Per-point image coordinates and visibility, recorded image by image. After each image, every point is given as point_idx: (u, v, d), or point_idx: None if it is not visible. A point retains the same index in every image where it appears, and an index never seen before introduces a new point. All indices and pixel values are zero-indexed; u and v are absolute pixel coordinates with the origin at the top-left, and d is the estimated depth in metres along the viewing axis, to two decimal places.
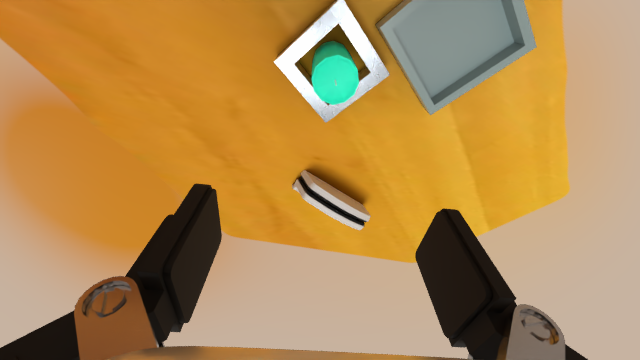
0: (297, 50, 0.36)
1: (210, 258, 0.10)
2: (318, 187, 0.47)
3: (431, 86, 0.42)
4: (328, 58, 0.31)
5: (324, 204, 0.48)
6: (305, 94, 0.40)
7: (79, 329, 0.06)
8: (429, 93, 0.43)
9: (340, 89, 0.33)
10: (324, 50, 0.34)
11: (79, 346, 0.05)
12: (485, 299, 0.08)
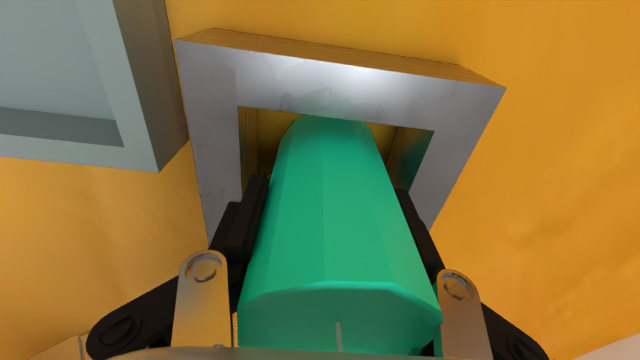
0: None
1: None
2: None
3: None
4: None
5: None
6: (435, 201, 0.13)
7: (179, 286, 0.07)
8: None
9: (353, 299, 0.07)
10: None
11: (176, 300, 0.06)
12: None
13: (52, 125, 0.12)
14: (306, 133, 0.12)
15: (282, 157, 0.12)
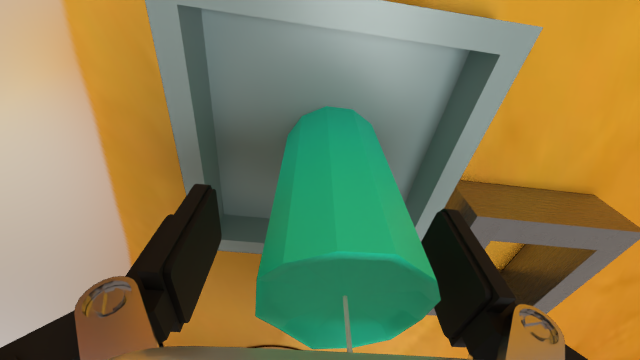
0: None
1: (210, 258, 0.10)
2: None
3: (435, 77, 0.14)
4: (306, 344, 0.10)
5: None
6: (580, 281, 0.20)
7: (79, 329, 0.06)
8: (455, 63, 0.14)
9: (359, 273, 0.08)
10: None
11: (79, 346, 0.05)
12: (485, 299, 0.08)
13: None
14: (313, 128, 0.13)
15: (291, 151, 0.13)
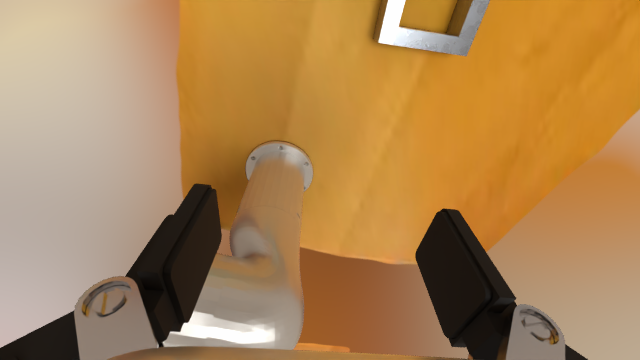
0: (443, 43, 0.33)
1: (210, 258, 0.10)
2: None
3: None
4: None
5: None
6: None
7: (79, 329, 0.06)
8: None
9: None
10: None
11: (79, 346, 0.05)
12: (485, 299, 0.08)
13: None
14: None
15: None
